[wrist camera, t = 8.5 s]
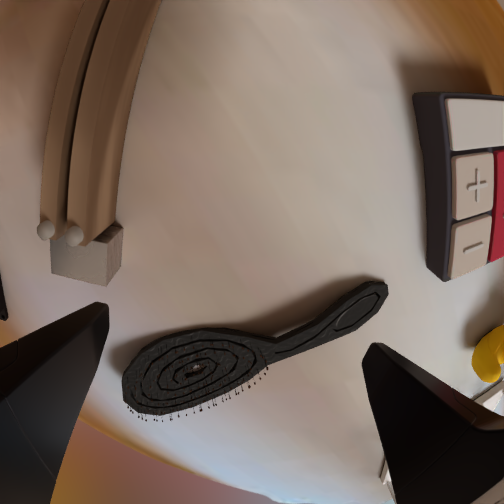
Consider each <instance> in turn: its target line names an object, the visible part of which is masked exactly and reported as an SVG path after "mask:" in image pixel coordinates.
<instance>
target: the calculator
mask: <svg viewBox="0 0 504 504" xmlns="http://www.w3.org/2000/svg"><path fill="white" fill-rule="evenodd" d="M412 99H413V104H414V110H415V115H416V120H417V126H418V133H419V139H420V145H421V148H422V150H423V155H424V166H425V182H426V215H427V268H428V269H429V270H430V271H431V272H433V273H434V274H435V275H436V276H437V277H438V278H439V279H441V280H442V281H443V282H446V281H449V280H451V279H455V278H457V277H460V276H462V275H464V274H466V273H469V272H471V271H473V270H475V269H478V268H480V267H482V266H484V265H485V264H488V263H490V262H493V261H495V260H497V259H499V258H501V257H503V256H504V96H500V95H490V94H478V93H461V92H421V93H414V94H413V96H412Z"/></svg>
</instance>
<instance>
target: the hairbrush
mask: <svg viewBox="0 0 504 504" xmlns="http://www.w3.org/2000/svg"><path fill="white" fill-rule="evenodd" d="M372 282H374V281H368V282H365V283H363V284H362V285H360V286H359V287H357V288H355V289H354V290H352V291H351V292H349V293H348V294H346V295H344V296H343V297H342V298H340V299H339V300H338V301H337V302H335V303H334V304H333V305H332V306H331V307H329V308H328V309H327V310H326V311H324V312H323V313H322V314H320V315H319V316H318V317H317V318H315V319H314V320H312V321H310V322H308V323H306V324H304V325H302V326H300V327H298V328H296V329H294V330H291V331H289V332H287V333H285V334H283V335H281V336H279V337H277V338H276V337H270V336H264V335H258V334H252V333H247V332H243V331H238V330H234V329H229V330H233V331H229V330H222V329H228V328H216V329H215V328H202V329H195V330H187V331H181V332H177V333H174V334H171V335H168V336H166V337H165V336H164V337H162V338H159V339H157V340H155V341H154V342H152V343H150V344H149V345H147V346H146V347H144V348H142V349H141V351H140V352H139V353H138V355H137V356H136V357H135V358H134V359H133V360H132V361H131V363H130V365H129V366H128V367H127V369H126V370H125V371H124V374H123V377H122V391H123V401H124V402H125V403H127V404H128V405H129V406H130V407H132V410H133V409H134V410H135V411H136V412H138V414H139V413H143V414H145V416H146V414H150V415H156V417H157V415H159V416H161V415H165V414H169V413H173V412H177V411H181V410H184V409H188V408H191V407H194V406H197V405H199V404H200V405H201V404H202V403H204V402H206V401H209V400H211V399H212V401H213V399H214V398H216V397H218V396H221V395H223V394H225V393H227V392H228V393H229V391H231V390H233V389H234V388H236V387H238V386H240V385H241V384H243V383H245V382H247V381H248V380H250V379H251V378H253V377H254V376H255V375H256V374H259V372H260V371H261V370H264V368H265V367H266V368H267V370H268V367H267V365H270V364H272V363H275V362H278V361H280V360H283V359H286V358H288V357H291V356H294V355H296V354H299V353H302V352H304V351H307V350H309V349H312V348H314V347H317V346H319V345H322V344H324V343H327V342H329V341H332V340H334V339H337V338H339V337H342V336H344V335H346V334H349V333H351V332H353V331H356V330H357V329H358V328H359V327H361V326H362V325H363V324H364V323H366V322H367V321H368V320H369V319H370V318H372V317H373V316H374V315H375V314H376V313H377V312H378V311H379V309H380V308H381V306H382V305H383V303H384V301H385V299H386V298H387V296H388V294H389V293H388V286H387V284H385V283H384V282H376V283H372ZM369 283H371V284H369ZM374 292H377V295H376V294H374ZM253 352H255V357H254V353H253ZM235 354H236V355H237V356H238V357H239V358H238V360H237V359H236V356H235ZM152 360H153V361H152ZM151 361H152V362H151ZM215 361H216V362H217V363H218V365H217V366H216V363H215ZM195 365H197V366H198V365H199V366H201V365H202V366H203V365H204V366H205V367H203V368H202V369H200V370H199V369H198V372H197V371H196V372H195V373H188V374H186V373H187V372H188V371H189V370H190V369H192V370H193V367H194V366H195ZM215 366H216V367H215ZM232 367H233V368H232ZM175 369H176V370H175ZM161 370H162V371H161ZM160 372H161V373H160ZM174 372H175V373H174ZM144 373H145V375H144ZM143 375H144V378H143V389H142V382H141V379H142V377H143ZM264 375H266V373H264ZM158 376H159V380H158ZM259 377H260V376H259ZM260 380H261V378H260ZM248 382H249V381H248ZM248 382H247V383H248ZM254 384H255V383H254ZM241 387H242V386H241ZM250 387H251V386H250V385H248V388H249V389H250ZM237 390H238V389H237ZM242 391H244V390H243V389H242ZM235 392H236V390H235ZM238 394H239V392H238ZM236 395H237V393H236ZM225 396H226V395H225ZM229 399H231V398H230V396H229ZM226 400H227V398H226ZM215 402H216V401H215ZM222 402H224V401H223V398H222ZM200 405H199V406H200ZM215 405H216V406H217V404H215ZM215 405H214V403H213V407H214V406H215ZM129 406H128V408H129ZM208 408H209V409H210V407H209V406H208ZM193 409H194V408H193ZM132 410H130V412H131V411H132ZM201 411H202V408H201V410H200V412H201ZM132 413H133V411H132ZM194 413H195V412H194ZM186 416H187V414H186ZM171 417H172V416H171ZM178 417H179V414H178ZM138 418H139V416H138ZM142 420H143V418H142ZM171 420H173V419H171V418H170V421H171ZM145 421H147V419H146V420H145ZM154 421H155V419H154ZM156 421H158V420H156ZM162 422H163V420H162Z"/></svg>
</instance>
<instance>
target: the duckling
mask: <svg viewBox="0 0 504 504" xmlns="http://www.w3.org/2000/svg"><path fill="white" fill-rule="evenodd" d="M502 363H504V325H501V326H499V327H497V328H495V329H493V330H492V331H491V332H490V333H488V334H487V335H485V336H484V337H483V338H482V339H481V340H480V342H479V343H478V344H477V346H476V348H475V350H474V352H473V356H472V367H473V369H474V371H475V372H476V374H477V375H478V376H479V378H480V379H481V380H482V381H485V382H488V383H493V382H495V381H497V380H498V378H499V377H500V374H501V367H500V364H502Z"/></svg>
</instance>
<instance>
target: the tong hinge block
mask: <svg viewBox="0 0 504 504" xmlns="http://www.w3.org/2000/svg"><path fill="white" fill-rule="evenodd" d="M122 239H123V228H119V227H114V226H108V227H107V228H106V229H105V230H104V231H103V232H101V233H100V234H99V235H98V236H97V237H96V238H94V239H93V240H92V241H91V242H90V243H89V244H88V245H86V246H85V247H84V246H79V245H77V246H74V247H72V246H70V245H68V244H67V242H66V241H65V235H63V236H62V237H60V238H59V239H58V240H56V241H55V240H51V239H50V253H51V271H52V273H53V274H56V275H60V276H64V277H68V278H72V279H76V280H80V281H84V282H88V283H92V284H97V285H101V286H105V287H107V285H108V284H109V282H110V281H111V279H112V278H113V277H114V275H115V274H116V272H117V271H118V270H119V268H120V267H121V255H122Z"/></svg>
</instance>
